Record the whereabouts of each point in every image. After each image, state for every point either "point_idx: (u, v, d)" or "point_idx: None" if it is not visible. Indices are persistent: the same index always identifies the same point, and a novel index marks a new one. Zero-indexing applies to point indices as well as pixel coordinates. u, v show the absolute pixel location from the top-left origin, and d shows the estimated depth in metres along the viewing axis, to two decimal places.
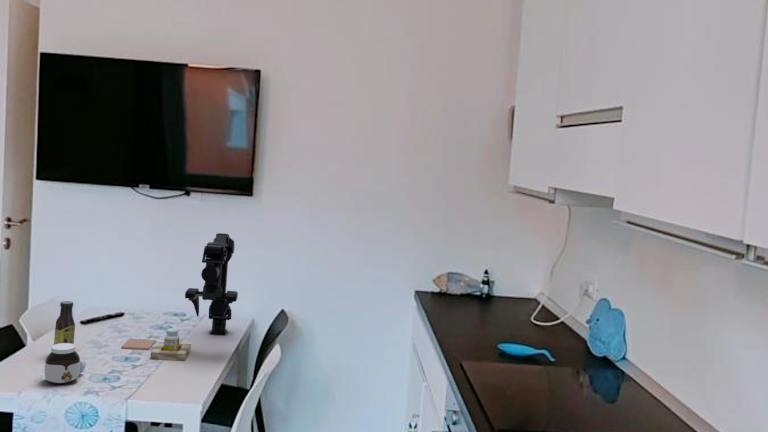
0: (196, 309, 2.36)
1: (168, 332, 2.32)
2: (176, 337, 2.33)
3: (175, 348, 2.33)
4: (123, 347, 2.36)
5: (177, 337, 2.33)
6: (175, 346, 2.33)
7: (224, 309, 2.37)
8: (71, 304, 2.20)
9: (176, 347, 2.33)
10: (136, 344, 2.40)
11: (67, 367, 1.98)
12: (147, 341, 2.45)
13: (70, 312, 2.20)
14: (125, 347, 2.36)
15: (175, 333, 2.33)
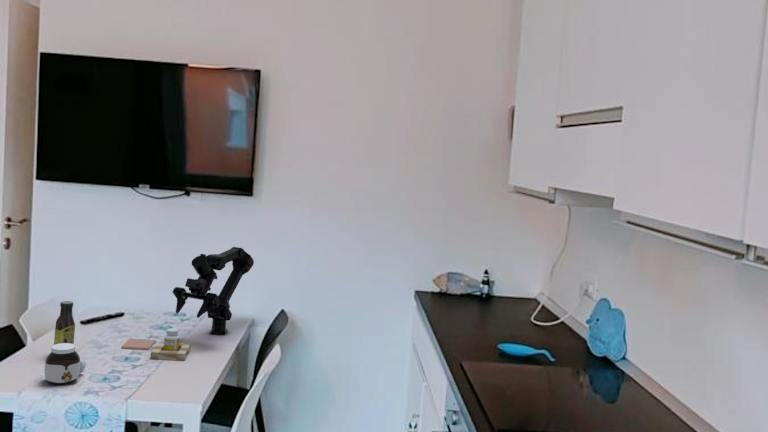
0: (177, 305, 2.44)
1: (168, 332, 2.32)
2: (176, 337, 2.33)
3: (175, 348, 2.33)
4: (123, 347, 2.36)
5: (177, 337, 2.33)
6: (175, 346, 2.33)
7: (201, 307, 2.42)
8: (71, 304, 2.20)
9: (176, 347, 2.33)
10: (136, 344, 2.40)
11: (67, 367, 1.98)
12: (147, 341, 2.45)
13: (70, 312, 2.20)
14: (125, 347, 2.36)
15: (175, 333, 2.33)
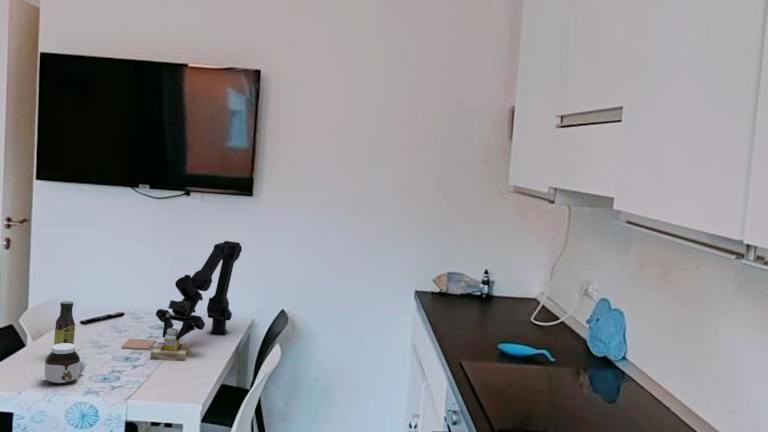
0: (164, 329, 2.35)
1: (168, 332, 2.32)
2: None
3: (175, 348, 2.33)
4: (123, 347, 2.36)
5: None
6: (175, 346, 2.33)
7: (181, 330, 2.33)
8: (71, 304, 2.20)
9: (176, 347, 2.33)
10: (136, 344, 2.40)
11: (67, 367, 1.98)
12: (147, 341, 2.45)
13: (70, 312, 2.20)
14: (125, 347, 2.36)
15: (175, 333, 2.33)
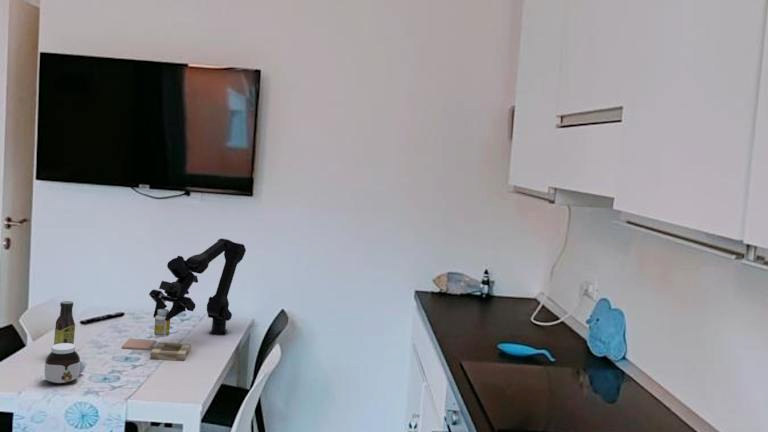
0: (156, 309, 2.36)
1: (158, 312, 2.33)
2: None
3: (165, 328, 2.33)
4: (123, 347, 2.36)
5: None
6: (165, 327, 2.33)
7: (170, 310, 2.33)
8: (71, 304, 2.20)
9: (166, 328, 2.34)
10: (136, 344, 2.40)
11: (67, 367, 1.98)
12: (147, 341, 2.45)
13: (70, 312, 2.20)
14: (125, 347, 2.36)
15: (164, 314, 2.33)
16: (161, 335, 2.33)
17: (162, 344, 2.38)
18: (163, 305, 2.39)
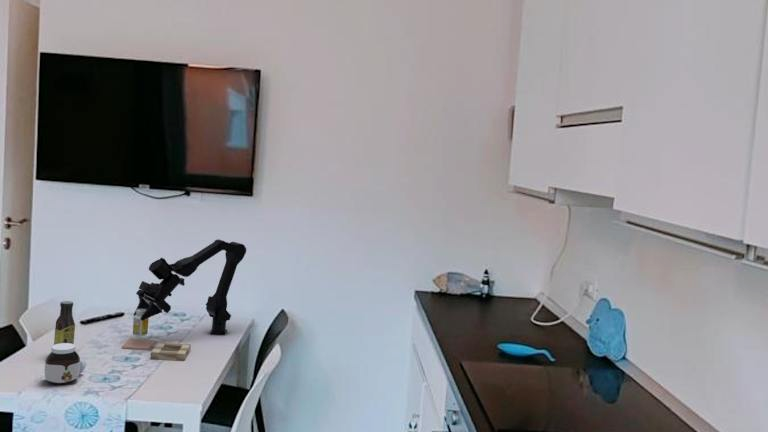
0: (137, 308, 2.43)
1: (136, 311, 2.39)
2: None
3: (141, 328, 2.39)
4: (123, 347, 2.36)
5: None
6: (141, 326, 2.39)
7: (146, 311, 2.38)
8: (71, 304, 2.20)
9: (142, 327, 2.39)
10: (136, 344, 2.40)
11: (67, 367, 1.98)
12: (147, 341, 2.45)
13: (70, 312, 2.20)
14: (125, 347, 2.36)
15: (141, 313, 2.39)
16: (137, 334, 2.39)
17: (162, 344, 2.38)
18: (146, 305, 2.45)
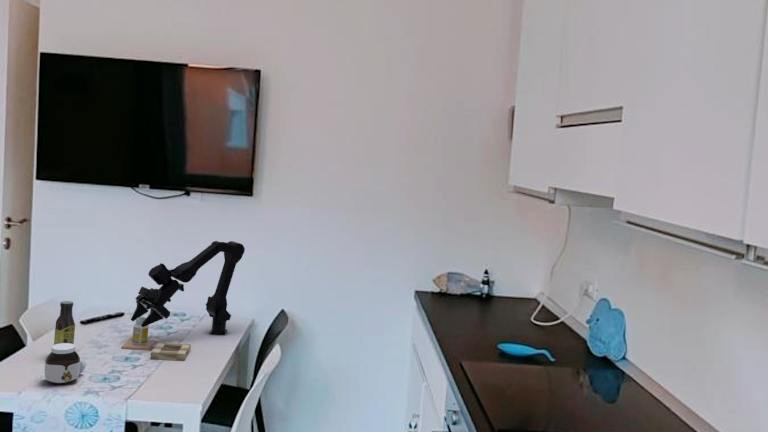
0: (134, 312, 2.44)
1: (136, 320, 2.40)
2: None
3: (140, 337, 2.39)
4: (123, 347, 2.36)
5: None
6: (140, 335, 2.39)
7: (147, 317, 2.37)
8: (71, 304, 2.20)
9: (141, 336, 2.39)
10: None
11: (67, 367, 1.98)
12: (147, 341, 2.45)
13: (70, 312, 2.20)
14: (125, 347, 2.36)
15: (141, 322, 2.39)
16: (136, 343, 2.39)
17: (162, 344, 2.38)
18: (144, 309, 2.46)
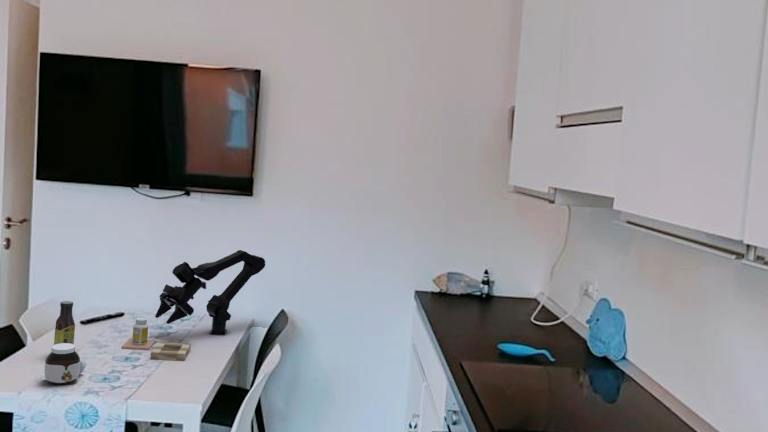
0: (158, 310, 2.51)
1: (136, 320, 2.40)
2: (142, 326, 2.39)
3: (140, 337, 2.39)
4: (123, 347, 2.36)
5: (143, 326, 2.39)
6: (140, 335, 2.39)
7: (172, 314, 2.44)
8: (71, 304, 2.20)
9: (141, 336, 2.39)
10: None
11: (67, 367, 1.98)
12: (147, 341, 2.45)
13: (70, 312, 2.20)
14: (125, 347, 2.36)
15: (140, 322, 2.39)
16: (136, 343, 2.39)
17: (162, 344, 2.38)
18: (167, 307, 2.54)
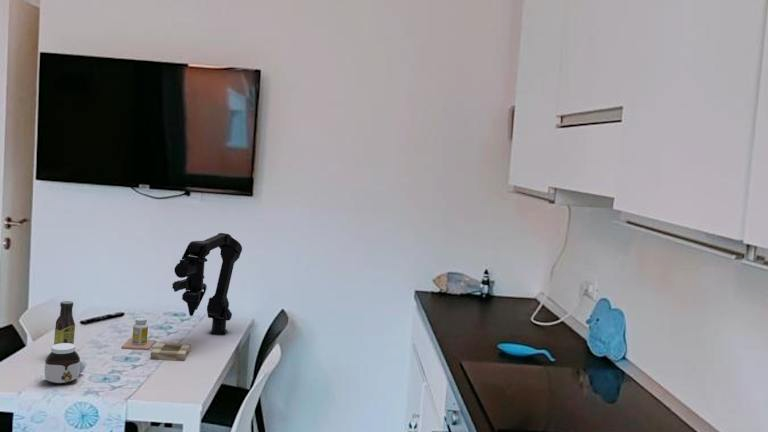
0: None
1: None
2: (141, 326, 2.39)
3: (140, 337, 2.39)
4: (123, 347, 2.36)
5: (143, 326, 2.39)
6: (140, 335, 2.39)
7: None
8: (71, 304, 2.20)
9: (141, 336, 2.39)
10: None
11: (67, 367, 1.98)
12: (147, 341, 2.45)
13: (70, 312, 2.20)
14: (125, 347, 2.36)
15: (140, 322, 2.39)
16: (136, 343, 2.39)
17: (162, 344, 2.38)
18: None
